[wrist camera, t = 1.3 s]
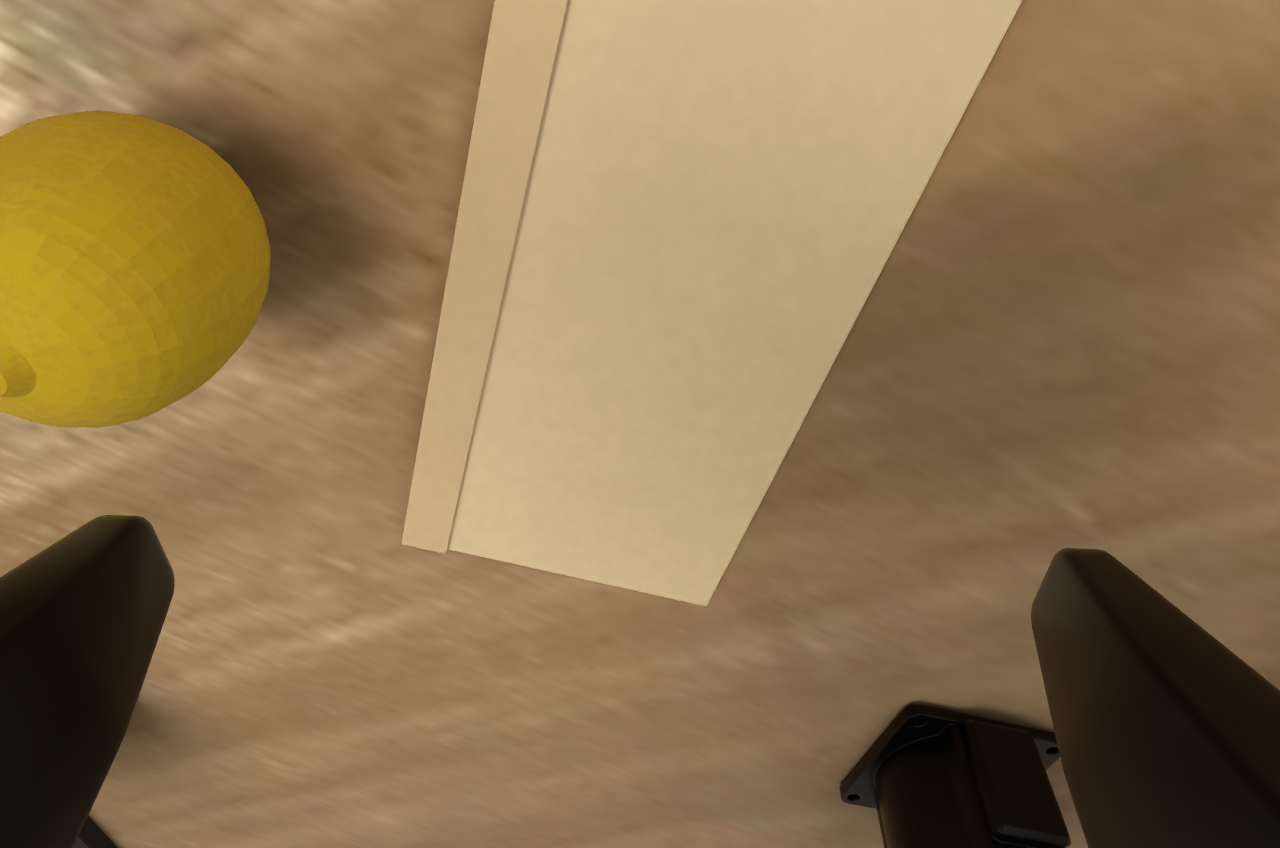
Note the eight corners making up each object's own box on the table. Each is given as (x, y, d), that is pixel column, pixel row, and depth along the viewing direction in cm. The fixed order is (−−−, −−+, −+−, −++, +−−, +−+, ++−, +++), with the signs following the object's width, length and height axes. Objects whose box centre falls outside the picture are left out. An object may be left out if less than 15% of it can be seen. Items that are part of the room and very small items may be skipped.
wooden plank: (706, 599, 28) (706, 611, 28) (404, 532, 27) (400, 544, 27) (1108, -177, 15) (1119, -175, 15) (565, -390, 14) (561, -394, 13)
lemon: (27, 161, 20) (-275, 348, 14) (167, 7, 18) (-112, 143, 11) (224, 328, 23) (48, 550, 16) (367, 211, 20) (230, 414, 14)
